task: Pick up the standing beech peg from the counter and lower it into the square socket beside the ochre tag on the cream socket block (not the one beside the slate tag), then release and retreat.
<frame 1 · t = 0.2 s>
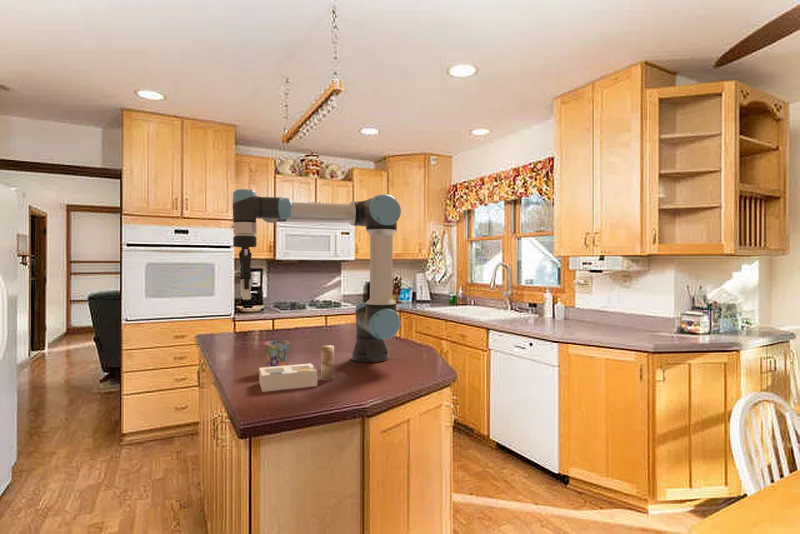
hand: (245, 297, 156), 28 cm above the counter, fingers open, 13 cm apart
socket block: (288, 384, 149), on the counter
peg: (327, 378, 155), on the counter
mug: (276, 371, 167), on the counter
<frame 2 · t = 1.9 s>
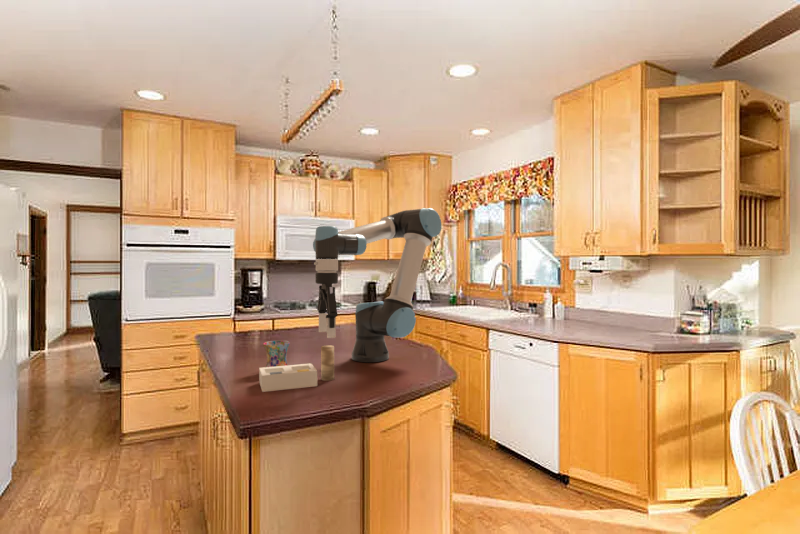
hand: (326, 334, 155), 15 cm above the counter, fingers open, 13 cm apart
nothing on the counter moved.
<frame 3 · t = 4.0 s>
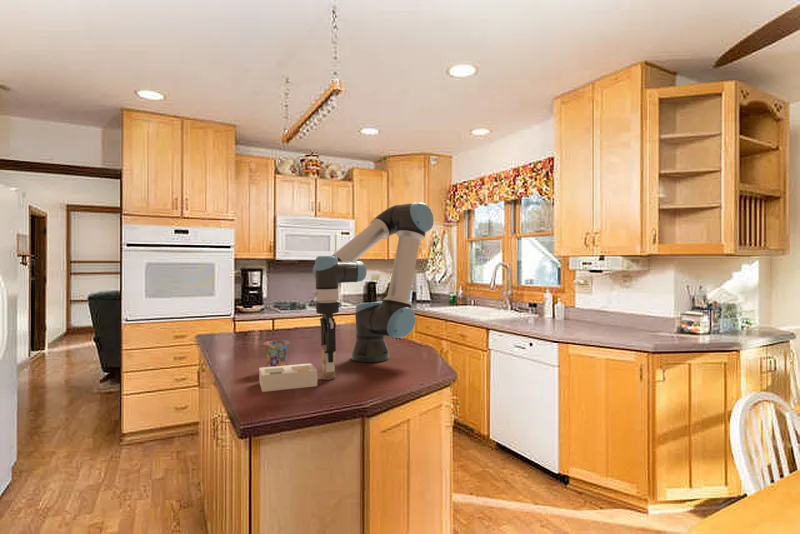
hand: (328, 369, 156), 3 cm above the counter, fingers closed on peg, 4 cm apart
peg: (328, 377, 156), on the counter, touching gripper
everything else where it was.
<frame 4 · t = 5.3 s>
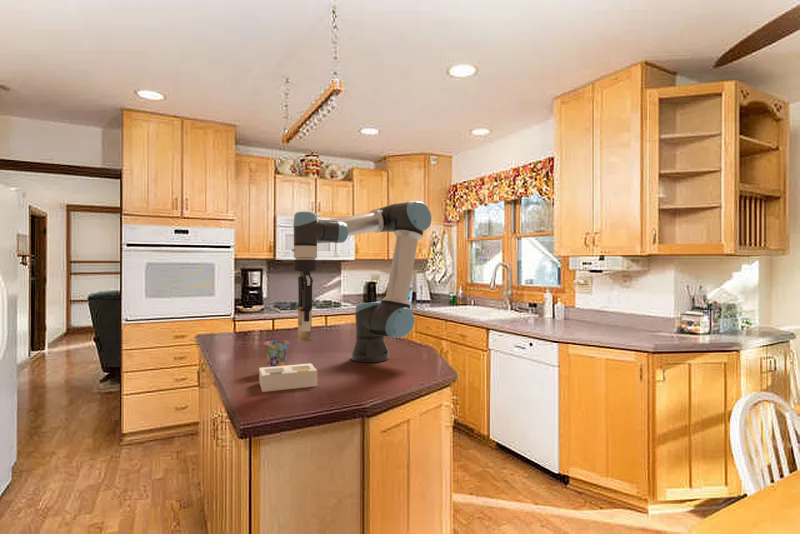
hand: (304, 330, 151), 17 cm above the counter, fingers closed on peg, 4 cm apart
peg: (304, 340, 151), point 14 cm above the counter, touching gripper
everything else where it was.
when the fingers open (6 cm above the counter, at t = 7.3 s): peg drops 2 cm, resting on socket block.
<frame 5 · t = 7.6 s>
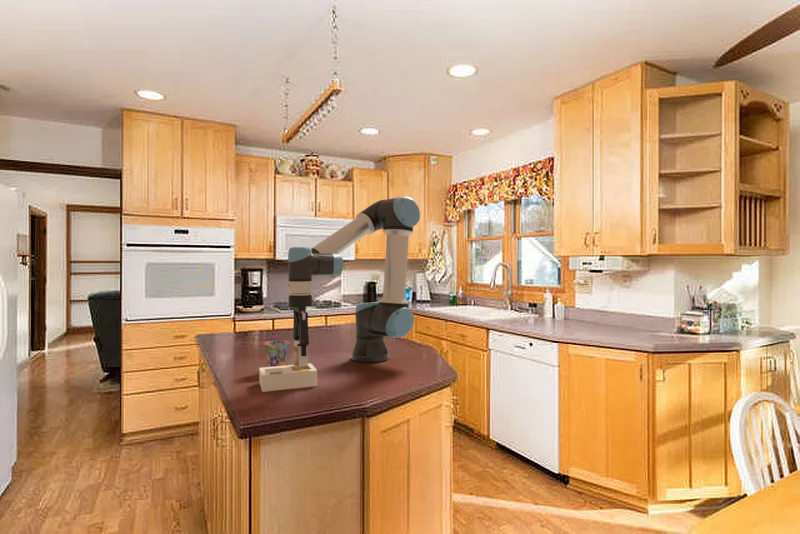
hand: (300, 362, 150), 7 cm above the counter, fingers open, 9 cm apart
peg: (301, 380, 150), point 1 cm above the counter, touching socket block
everything else where it was.
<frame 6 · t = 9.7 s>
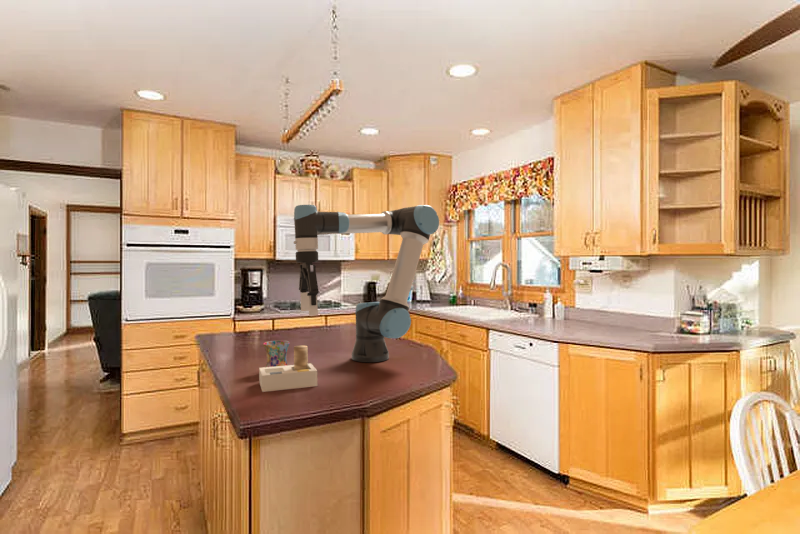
hand: (309, 313, 156), 22 cm above the counter, fingers open, 13 cm apart
nothing on the counter moved.
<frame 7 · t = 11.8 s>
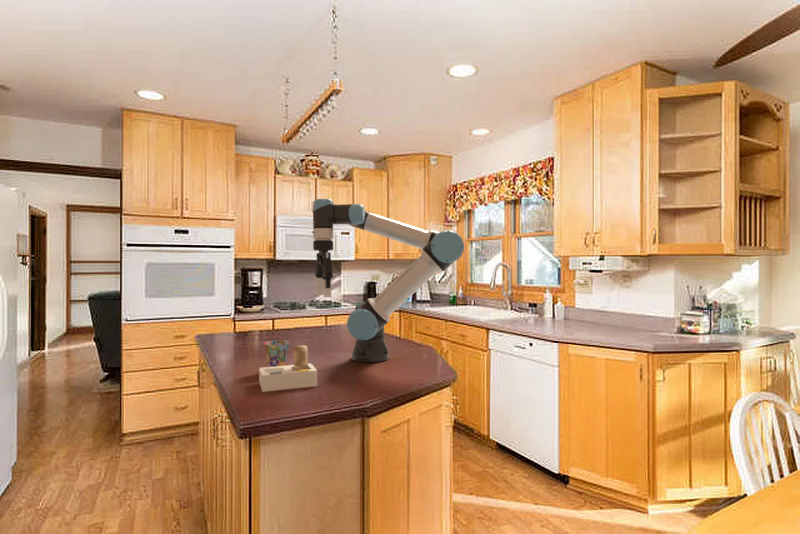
hand: (323, 295, 175), 27 cm above the counter, fingers open, 13 cm apart
nothing on the counter moved.
at the end: peg 0.0 cm from the target spot on the socket block, point 1.0 cm above the socket block's base; peg tilted 0°; the gripper is holding nothing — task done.
